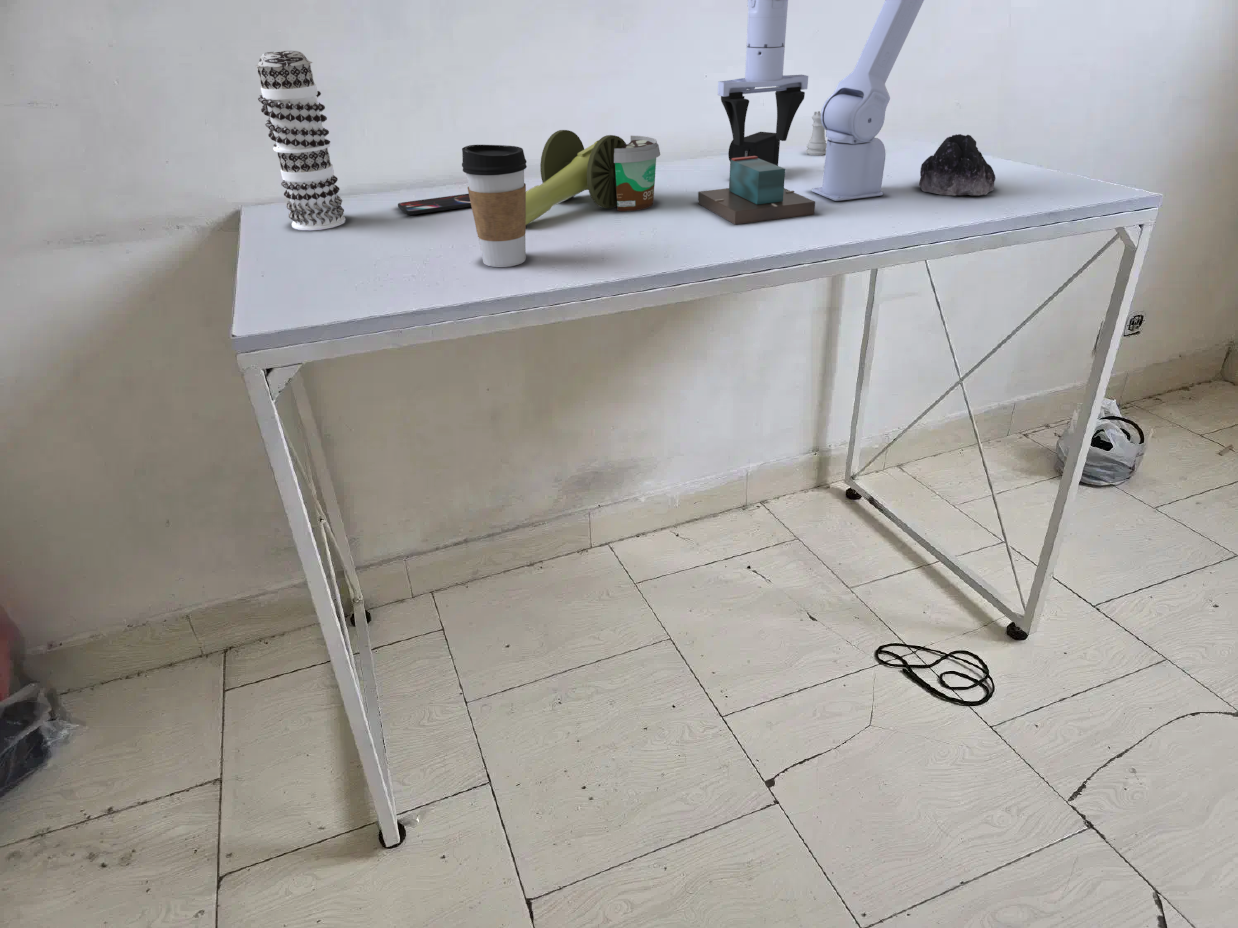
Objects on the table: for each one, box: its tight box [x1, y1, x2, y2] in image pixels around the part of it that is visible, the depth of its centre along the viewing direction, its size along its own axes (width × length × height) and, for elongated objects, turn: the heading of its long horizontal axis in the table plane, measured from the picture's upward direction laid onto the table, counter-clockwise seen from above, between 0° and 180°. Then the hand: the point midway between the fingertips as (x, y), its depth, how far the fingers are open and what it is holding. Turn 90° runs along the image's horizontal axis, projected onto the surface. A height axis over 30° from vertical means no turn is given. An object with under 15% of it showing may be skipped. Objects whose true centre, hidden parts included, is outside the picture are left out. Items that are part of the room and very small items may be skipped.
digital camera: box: [727, 131, 781, 166], centre depth 151 cm, size 10×5×7 cm, turn 144°
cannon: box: [526, 129, 627, 226], centre depth 131 cm, size 25×12×11 cm, turn 142°
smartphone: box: [397, 193, 472, 216], centre depth 138 cm, size 7×1×15 cm
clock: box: [697, 187, 816, 225], centre depth 131 cm, size 14×14×2 cm
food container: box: [614, 135, 661, 212], centre depth 133 cm, size 12×6×10 cm, turn 166°
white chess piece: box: [805, 110, 827, 156], centre depth 166 cm, size 4×4×8 cm
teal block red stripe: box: [728, 156, 786, 205], centre depth 129 cm, size 10×5×5 cm, turn 20°
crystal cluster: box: [918, 133, 997, 197], centre depth 137 cm, size 13×14×10 cm
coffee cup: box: [461, 144, 528, 268], centre depth 108 cm, size 8×8×15 cm
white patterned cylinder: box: [254, 50, 346, 231], centre depth 125 cm, size 9×9×25 cm
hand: (760, 142), depth 128 cm, fingers open, 7 cm apart
